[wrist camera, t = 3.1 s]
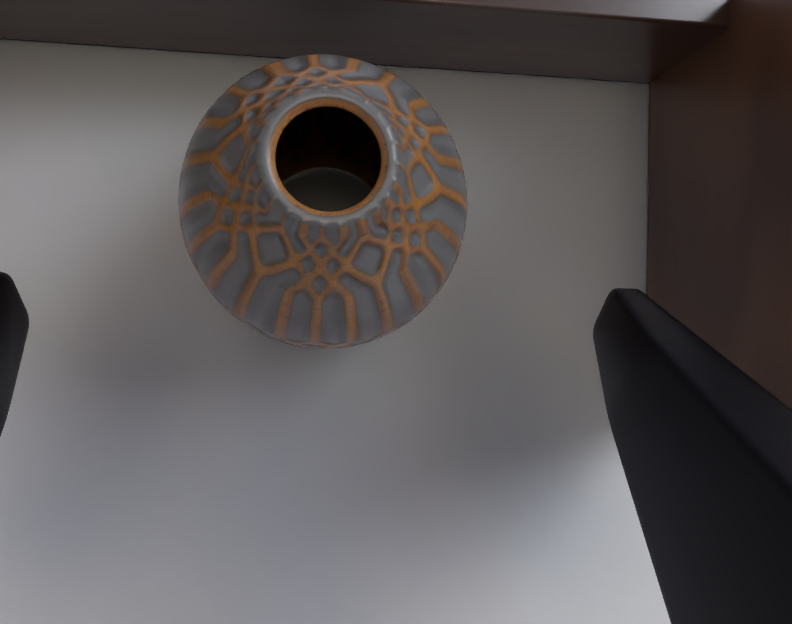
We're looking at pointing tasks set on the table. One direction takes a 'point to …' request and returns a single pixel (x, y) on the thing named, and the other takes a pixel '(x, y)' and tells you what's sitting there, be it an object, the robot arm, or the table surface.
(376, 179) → the vase
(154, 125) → the table surface
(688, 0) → the wooden bookend shelf
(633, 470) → the robot arm
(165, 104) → the table surface
